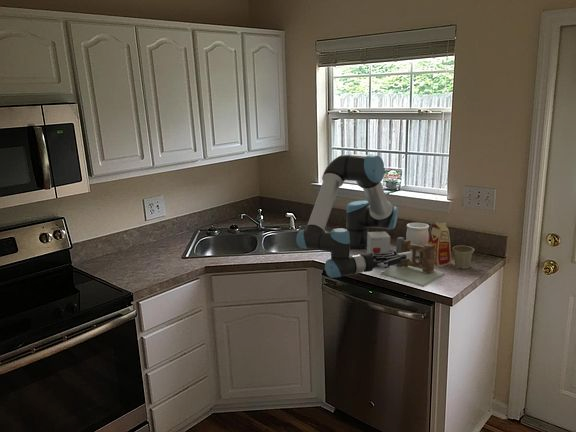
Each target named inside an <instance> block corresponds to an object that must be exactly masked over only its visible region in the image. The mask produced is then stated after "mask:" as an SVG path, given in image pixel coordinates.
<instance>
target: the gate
mask: <svg viewBox="0 0 576 432" xmlns="http://www.w3.org/2000/svg"><path fill="white" fill-rule="evenodd" d="M410 249H411V250H413V252H412V258H411V259H405V260H403V266H404V267H408V266H412V267H417V268H421V269H423V272H427V273H431V272H433V271H434V270H435V266H434V254H435V245H433V244H428V243H427V244H425V245H424V246H422V245H417V244H412V243H410V240H406V239H404V241H403V252H409V251H410ZM416 251H420V257H419V261H417V260H416V259H417V257H416Z"/></svg>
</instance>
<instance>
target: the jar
mask: <svg viewBox="0 0 576 432" xmlns="http://www.w3.org/2000/svg"><path fill="white" fill-rule="evenodd" d="M429 228H430V225H429V224H428V223H424V222H410V223H407V224H406V235H405V238H406V239H405V240H410V243H412V244H417V245H422V246H424V245H425V244H427V243H428V242H429V238H430V234H429ZM410 252H413V250H411V249H410ZM417 257H419V258H420V251H416V258H417Z"/></svg>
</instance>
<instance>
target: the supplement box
mask: <svg viewBox="0 0 576 432" xmlns="http://www.w3.org/2000/svg"><path fill="white" fill-rule="evenodd" d="M387 252H391V236H390V235H389V233H387V231H369V232H367V248H366V253H369V254H370V253H387ZM382 268H383V269H385V268H384V266H380V267H374V269H382ZM387 268H388V269H389V267H387ZM387 268H386V269H387Z"/></svg>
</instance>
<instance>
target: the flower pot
mask: <svg viewBox="0 0 576 432" xmlns="http://www.w3.org/2000/svg"><path fill="white" fill-rule="evenodd" d="M451 248H452V250H453V251H452V252H453V258H454V267H455V268H457V269H463V270H467V269H469V268H470V266H471V261H472V256H473V254H474V252H475V248H474V247H472V246H467V245H456V246H453V247H451Z"/></svg>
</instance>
